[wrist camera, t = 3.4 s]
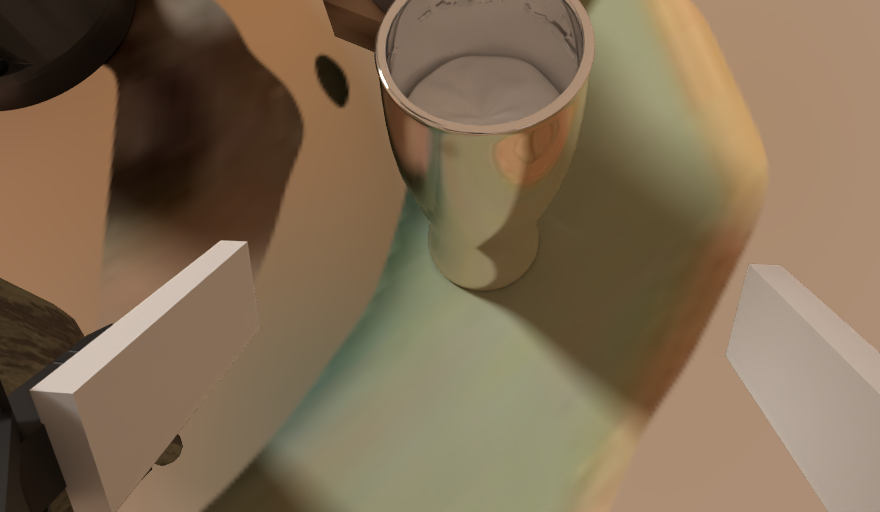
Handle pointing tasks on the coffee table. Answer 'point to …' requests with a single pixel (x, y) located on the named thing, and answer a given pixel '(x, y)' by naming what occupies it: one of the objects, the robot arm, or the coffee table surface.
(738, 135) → the coffee table surface
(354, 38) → the walnut plinth
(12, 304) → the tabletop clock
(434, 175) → the silver metal cup
